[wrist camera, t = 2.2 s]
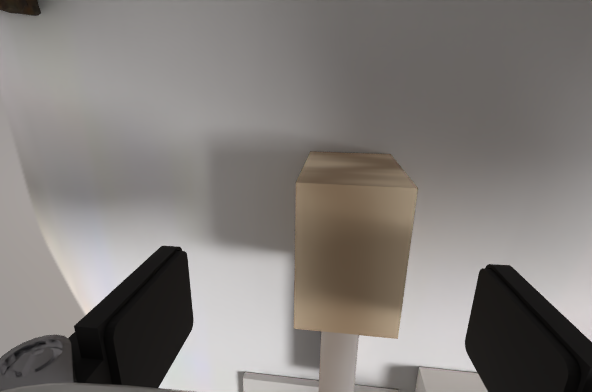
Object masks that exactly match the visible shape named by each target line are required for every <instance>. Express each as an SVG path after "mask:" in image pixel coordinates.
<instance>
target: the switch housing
mask: <svg viewBox="0 0 592 392" xmlns="http://www.w3.org/2000/svg"><path fill="white" fill-rule="evenodd" d="M415 392H488V391H487V389H486V387H485V386H484V384H483V382H482V380H481V378H480V376H479V374H478V373H472V372H463V371H453V370H444V369H435V368H425V367H419V370H418V376H417V382H416V389H415Z"/></svg>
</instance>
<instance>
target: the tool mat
mask: <svg viewBox="0 0 592 392" xmlns="http://www.w3.org/2000/svg"><path fill="white" fill-rule="evenodd" d="M243 392H319V381H317V380H308V379H300V378H291V377H283V376H274V375H265V374H257V373H248V372H245V373H244V376H243ZM354 392H399V390H395V389H386V388H377V387H369V386H360V385H354Z"/></svg>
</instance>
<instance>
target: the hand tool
mask: <svg viewBox="0 0 592 392" xmlns="http://www.w3.org/2000/svg"><path fill="white" fill-rule="evenodd" d="M0 10H2V11H7V12H9V13H19V14H26V15H34V16H36V15H39V14H41V11H40V8H39V6H38V1H37V0H0Z"/></svg>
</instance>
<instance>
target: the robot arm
mask: <svg viewBox="0 0 592 392" xmlns="http://www.w3.org/2000/svg"><path fill="white" fill-rule="evenodd" d="M192 327H193V311H192V300H191V290H190V279H189V269H188V259H187V253H186V252H185V251H182V249H181V248H180V247H174V246H161V247H160V248H159V249H158V250H157V251H156V252H155V253H153V254H152V255H151V256H150V257H149V258H148V259H147V260H146V261H145V262H144V263H143V264H141V265H140V266H139V267H138V268H137V269H136V270H135V271H134V272H133V273H132V274H131V275H129V276H128V277H127V278H126V279H125V280H124V281H123V282H122V283H121V284H120V285H119V286H117V287H116V288H115V289H114V290H113V291H112V292H111V293H110V294H109V295H108V296H107V297H105V298H104V299H103V300H102V301H101V302H100V303H99V304H98V305H97V306H96V307H94V308H93V309H92V310H91V311H90V312H89V313H88V314H87V315H86V316H85V317H84V318H82V319H81V320H80V321H79V322H78V323H77V324H76V325H75V326H74V328H75V333H73V334H72V335H71V336H70V337H69V338H66V337H65V336H60V335H47V336H42V337H38V338H34V339H32V340H29V341H27V342H24V343H22V344H20V345H18V346H16V347H15V348H13V349H11V350H10V351H8V352H7V353H6V354H4V355H3V356H2V357H1V358H0V392H195V391H184V390H172V389H161V388H158V387H159V386H160V384H161V382H162V381H163V379H164V377H165V375H166V374H167V372H168V370H169V368H170V367H171V365H172V363H173V362H174V360H175V358H176V356H177V355H178V353H179V351H180V349H181V348H182V346H183V344H184V342H185V341H186V339H187V337H188V336H189V334H190V332H191V330H192ZM465 347H466V351H467V354H468V356H469V358H470V359H471V361H472V363H473V365H474V367H475V369H476V371H477V373H478V374H479V376H480V378H481V380H482V382H483V384H484V386H485V387H486V389H487V391H488V392H592V342H591V341H590V340H589V339H588V338H587V337H586V336H584V335H583V334H582V333H581V332H580V331H579V330H578V329H577V328H576V327H575V326H574V325H573V324H572V323H571V322H570V321H569V320H568V319H566V318H565V317H564V316H563V315H562V314H561V313H560V312H559V311H558V310H557V309H556V308H555V307H554V306H553V305H552V304H551V303H550V302H548V301H547V300H546V299H545V298H544V297H543V296H542V295H541V294H540V293H539V292H538V291H537V290H536V289H535V288H534V287H533V286H531V285H530V284H529V283H528V282H527V281H526V280H525V279H524V278H523V277H522V276H521V275H520V274H519V273H518V272H517V271H516V270H515V269H513V268H512V267H511V266H510V265H493V264H489V265H487V266H486V268H485V269H481V270H480V272H479V276H478V281H477V286H476V290H475V295H474V300H473V305H472V310H471V315H470V319H469V324H468V329H467V334H466V339H465Z"/></svg>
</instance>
